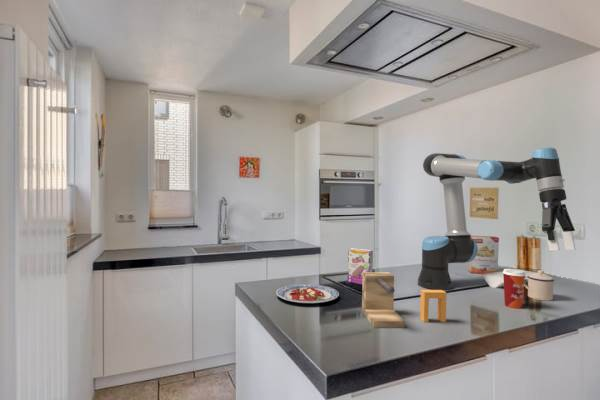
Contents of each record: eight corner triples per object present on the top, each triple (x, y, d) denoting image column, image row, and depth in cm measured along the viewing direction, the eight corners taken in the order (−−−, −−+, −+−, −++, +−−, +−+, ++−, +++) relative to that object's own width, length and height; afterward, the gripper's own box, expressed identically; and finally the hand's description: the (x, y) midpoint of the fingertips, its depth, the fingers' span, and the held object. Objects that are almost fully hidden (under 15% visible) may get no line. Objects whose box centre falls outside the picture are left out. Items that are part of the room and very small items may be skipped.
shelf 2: (541, 284, 164) (542, 273, 164) (504, 291, 150) (505, 279, 150) (518, 279, 174) (518, 269, 174) (481, 284, 161) (481, 274, 161)
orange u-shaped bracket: (420, 318, 113) (420, 289, 113) (441, 318, 113) (442, 289, 113) (423, 322, 110) (424, 292, 110) (445, 322, 110) (446, 292, 110)
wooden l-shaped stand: (361, 310, 120) (362, 272, 120) (388, 310, 121) (389, 272, 121) (374, 329, 103) (375, 284, 103) (406, 329, 104) (407, 285, 103)
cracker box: (471, 273, 184) (472, 236, 184) (467, 271, 190) (468, 235, 190) (498, 274, 182) (499, 237, 182) (493, 272, 188) (494, 236, 188)
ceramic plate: (268, 292, 142) (268, 285, 142) (321, 286, 152) (321, 280, 152) (289, 311, 119) (289, 303, 119) (350, 303, 129) (351, 295, 129)
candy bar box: (347, 282, 160) (347, 248, 160) (351, 280, 164) (351, 247, 164) (369, 286, 154) (369, 251, 154) (372, 284, 158) (373, 250, 158)
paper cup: (517, 310, 123) (518, 273, 123) (497, 304, 130) (498, 269, 130) (529, 307, 127) (530, 271, 127) (509, 301, 133) (509, 267, 133)
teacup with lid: (558, 300, 137) (559, 272, 137) (543, 302, 134) (543, 273, 134) (530, 292, 148) (531, 266, 148) (515, 293, 145) (516, 267, 145)
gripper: (548, 184, 108) (560, 250, 104) (577, 191, 121) (589, 248, 117) (523, 189, 114) (534, 251, 110) (553, 195, 128) (564, 250, 124)
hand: (562, 250), depth 114 cm, fingers open, 13 cm apart
